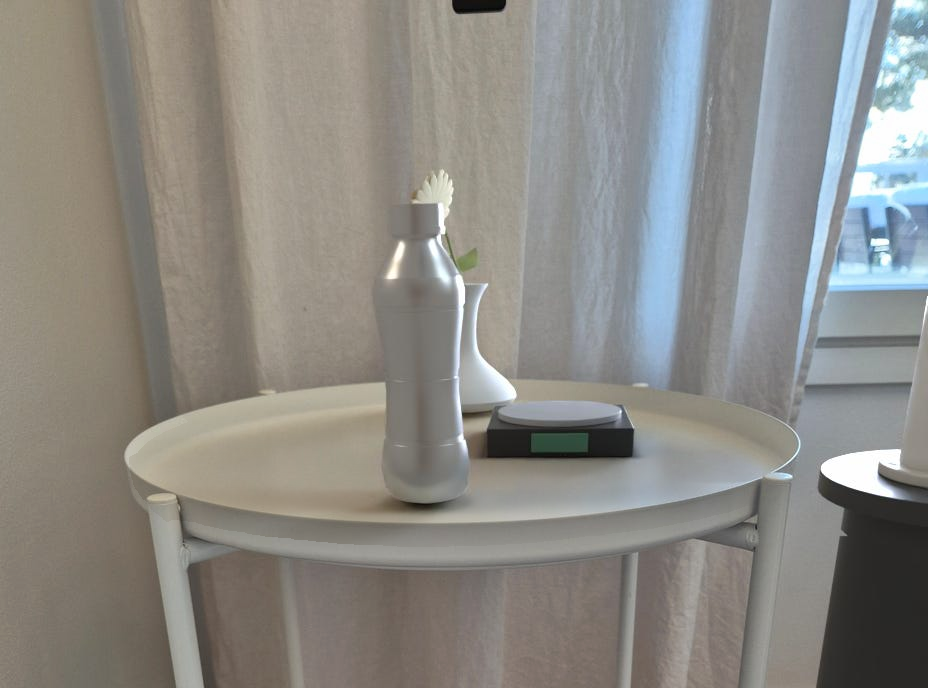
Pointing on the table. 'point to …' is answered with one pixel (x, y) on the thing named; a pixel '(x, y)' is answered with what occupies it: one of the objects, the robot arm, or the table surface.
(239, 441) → the table surface
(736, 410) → the table surface
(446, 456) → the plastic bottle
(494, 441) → the scale
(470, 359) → the flower in vase
